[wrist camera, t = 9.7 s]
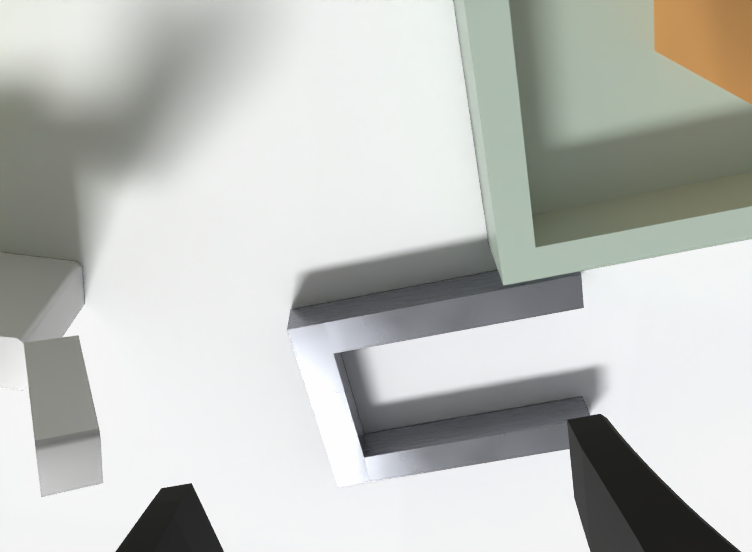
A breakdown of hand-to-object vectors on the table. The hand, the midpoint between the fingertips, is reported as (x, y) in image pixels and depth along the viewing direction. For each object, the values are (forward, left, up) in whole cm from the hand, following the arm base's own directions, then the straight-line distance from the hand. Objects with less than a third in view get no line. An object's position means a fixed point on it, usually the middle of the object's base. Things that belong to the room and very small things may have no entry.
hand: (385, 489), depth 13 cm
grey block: (+10, -1, -10) cm, 14 cm away
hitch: (-2, +5, -10) cm, 11 cm away
